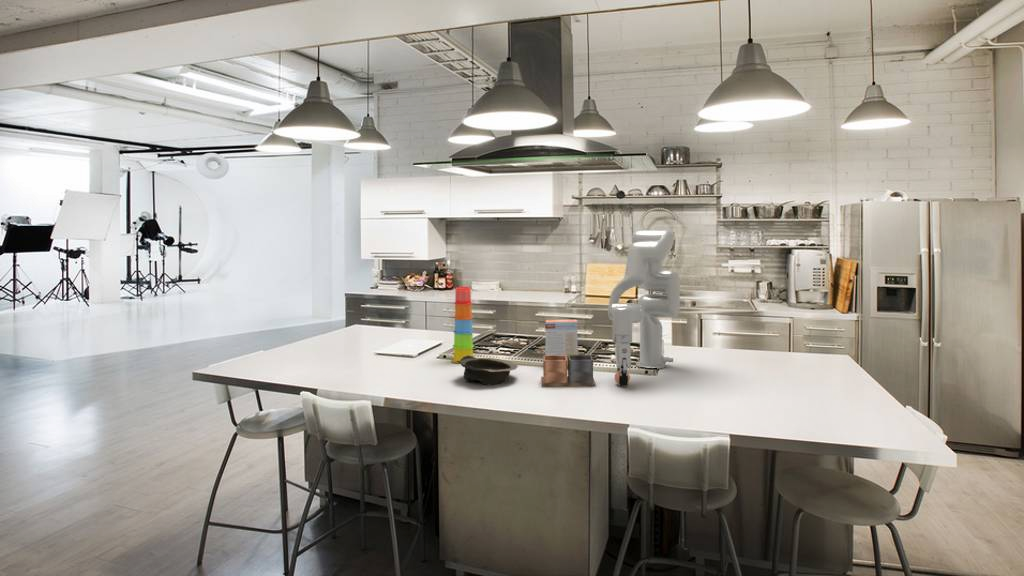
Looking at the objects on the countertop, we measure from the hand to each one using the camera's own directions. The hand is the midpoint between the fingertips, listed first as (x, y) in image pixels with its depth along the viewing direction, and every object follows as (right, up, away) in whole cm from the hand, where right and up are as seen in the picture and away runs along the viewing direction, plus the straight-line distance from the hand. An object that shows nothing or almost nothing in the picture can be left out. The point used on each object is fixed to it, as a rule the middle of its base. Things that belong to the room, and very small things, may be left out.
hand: (622, 383), depth 238 cm
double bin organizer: (-21, -1, +5) cm, 21 cm away
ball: (0, +2, 0) cm, 2 cm away
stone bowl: (-53, -1, +12) cm, 54 cm away
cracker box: (-21, +2, +31) cm, 37 cm away
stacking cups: (-66, +3, +45) cm, 80 cm away
